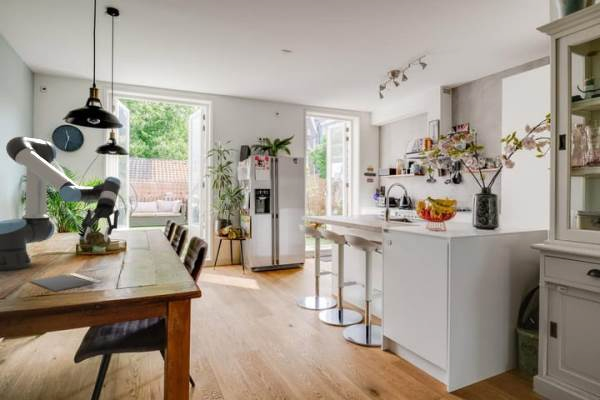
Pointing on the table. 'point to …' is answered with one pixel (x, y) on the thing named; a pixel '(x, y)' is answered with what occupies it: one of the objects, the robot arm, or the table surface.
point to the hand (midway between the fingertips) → (95, 240)
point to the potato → (97, 239)
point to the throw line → (85, 278)
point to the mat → (60, 282)
